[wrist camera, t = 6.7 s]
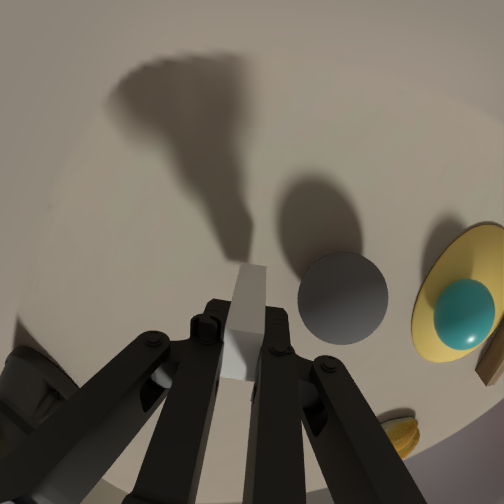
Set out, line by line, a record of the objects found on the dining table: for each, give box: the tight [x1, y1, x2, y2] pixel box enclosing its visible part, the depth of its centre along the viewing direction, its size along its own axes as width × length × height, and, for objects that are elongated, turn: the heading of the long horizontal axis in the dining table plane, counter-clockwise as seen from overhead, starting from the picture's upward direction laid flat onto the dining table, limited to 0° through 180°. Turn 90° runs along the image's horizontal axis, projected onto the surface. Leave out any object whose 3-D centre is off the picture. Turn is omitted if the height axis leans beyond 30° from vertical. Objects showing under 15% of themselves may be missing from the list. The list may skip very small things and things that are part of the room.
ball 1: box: [298, 252, 388, 345], centre depth 16 cm, size 6×6×6 cm
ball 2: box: [433, 279, 495, 350], centre depth 16 cm, size 6×6×6 cm
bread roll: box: [381, 417, 420, 459], centre depth 24 cm, size 8×9×4 cm
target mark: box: [411, 225, 504, 362], centre depth 18 cm, size 14×14×1 cm
